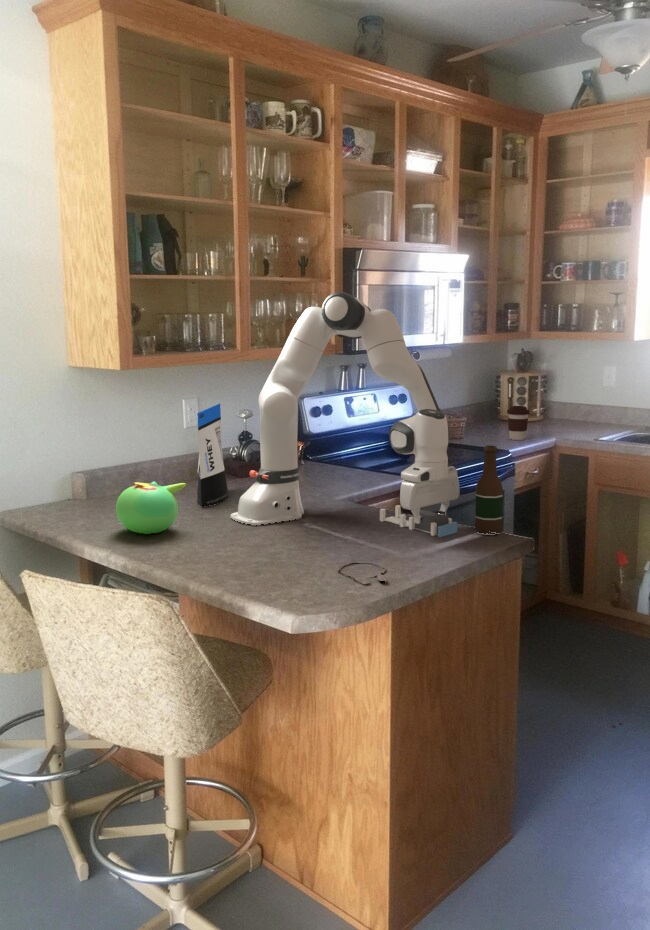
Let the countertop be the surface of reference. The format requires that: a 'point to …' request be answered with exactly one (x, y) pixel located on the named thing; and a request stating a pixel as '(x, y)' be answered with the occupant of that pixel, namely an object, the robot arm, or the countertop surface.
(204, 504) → the protein powder
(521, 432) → the coffee cup
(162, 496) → the round green spouted pot
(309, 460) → the countertop surface
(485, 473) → the beer bottle
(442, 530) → the white peg rack
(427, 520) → the gray rectangular block
